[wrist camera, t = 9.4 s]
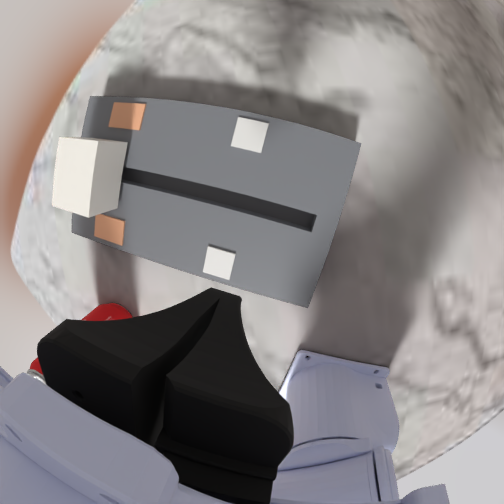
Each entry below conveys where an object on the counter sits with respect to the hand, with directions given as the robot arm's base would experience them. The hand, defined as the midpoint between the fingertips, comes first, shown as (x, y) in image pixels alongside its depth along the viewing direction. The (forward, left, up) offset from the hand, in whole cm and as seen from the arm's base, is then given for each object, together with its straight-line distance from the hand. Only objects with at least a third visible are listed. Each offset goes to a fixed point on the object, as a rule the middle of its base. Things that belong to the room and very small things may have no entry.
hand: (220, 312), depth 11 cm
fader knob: (+12, -3, -9) cm, 16 cm away
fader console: (+6, -3, -10) cm, 12 cm away
